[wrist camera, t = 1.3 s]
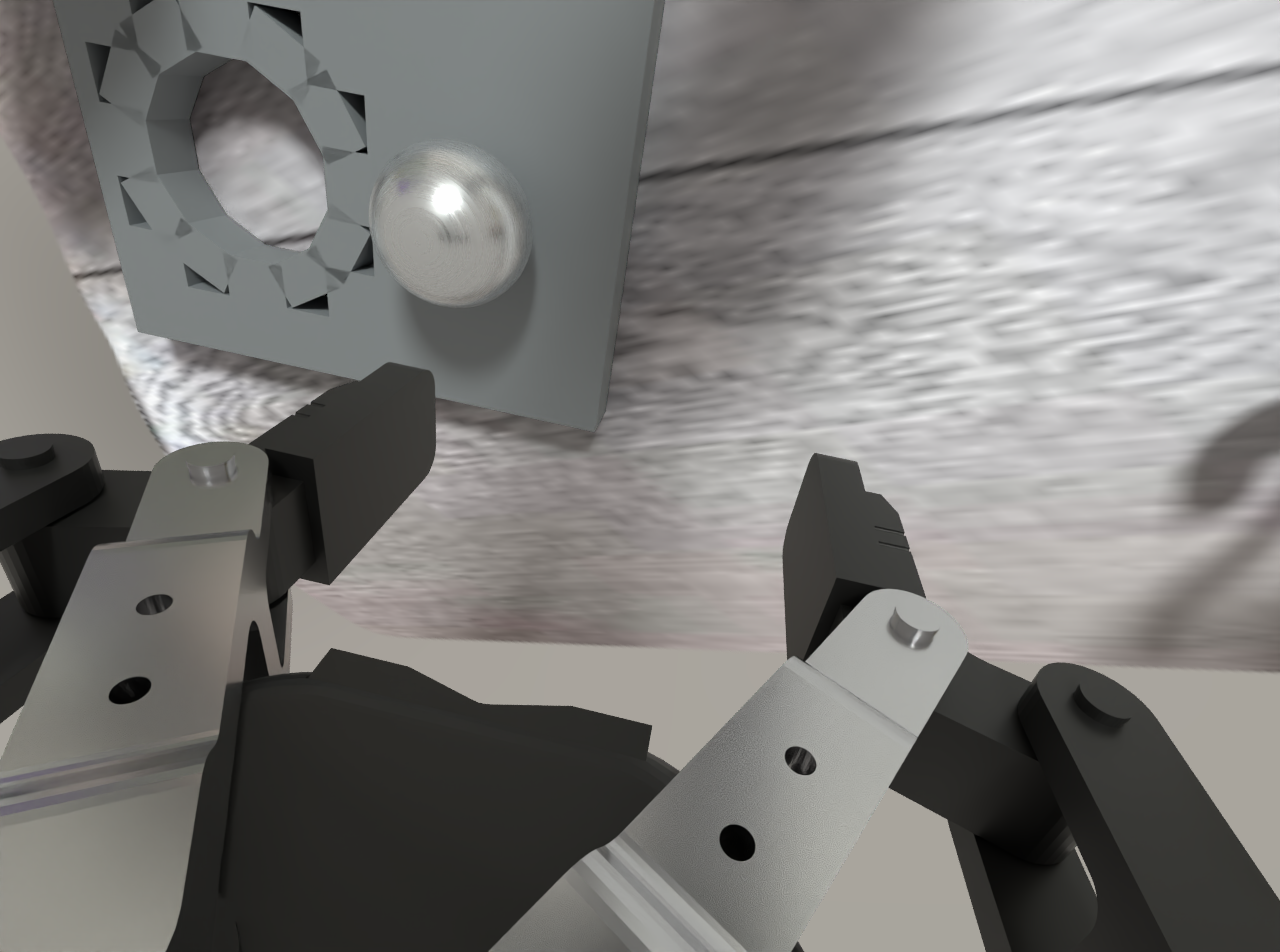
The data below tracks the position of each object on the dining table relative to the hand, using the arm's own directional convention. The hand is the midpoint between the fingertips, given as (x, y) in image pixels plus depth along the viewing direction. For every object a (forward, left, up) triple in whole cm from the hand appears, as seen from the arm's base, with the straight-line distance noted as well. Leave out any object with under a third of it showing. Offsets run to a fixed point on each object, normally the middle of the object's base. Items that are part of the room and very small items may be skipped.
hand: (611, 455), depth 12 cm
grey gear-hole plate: (0, -15, -20) cm, 25 cm away
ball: (0, -9, -14) cm, 17 cm away
